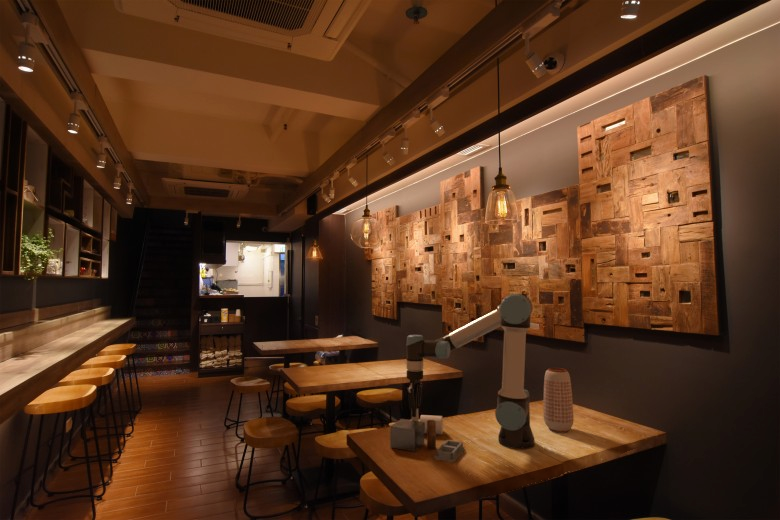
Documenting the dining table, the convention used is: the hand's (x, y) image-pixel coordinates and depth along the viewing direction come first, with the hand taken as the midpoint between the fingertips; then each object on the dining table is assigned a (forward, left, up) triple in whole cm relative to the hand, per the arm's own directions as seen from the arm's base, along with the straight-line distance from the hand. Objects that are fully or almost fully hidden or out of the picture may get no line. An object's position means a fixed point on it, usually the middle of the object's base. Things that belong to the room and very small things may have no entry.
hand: (415, 423), depth 188 cm
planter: (-56, -43, -7) cm, 71 cm away
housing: (0, +8, -7) cm, 11 cm away
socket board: (-19, +9, -7) cm, 22 cm away
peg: (-10, +6, -7) cm, 14 cm away
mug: (-3, -13, -7) cm, 15 cm away
